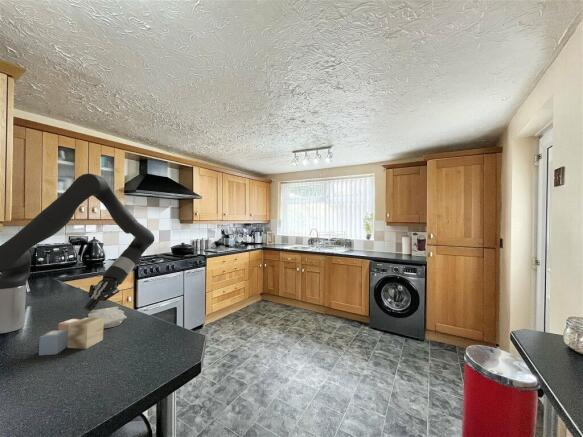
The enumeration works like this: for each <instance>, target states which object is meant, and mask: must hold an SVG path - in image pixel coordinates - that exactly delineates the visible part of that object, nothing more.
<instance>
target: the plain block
mask: <svg viewBox="0 0 583 437" xmlns="http://www.w3.org/2000/svg"><path fill="white" fill-rule="evenodd" d="M103 325H104V318H89V317H86V316H85V317H83V318H82V319H80V320H79V321H76V322H74V323H71V324H69V325H68V341H67V347H66V348H67V349H81V350H82V349H84V350H85V349H86V350H87V349H88V348H91V347H92V346H94V345H96V344H98V343H99V342H101V341H104V340H103V339H104V329H103Z"/></svg>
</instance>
